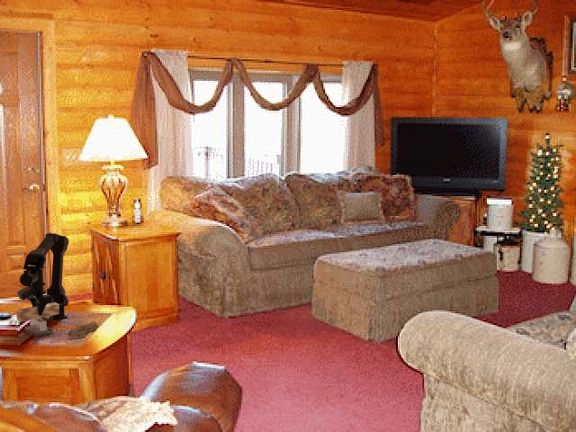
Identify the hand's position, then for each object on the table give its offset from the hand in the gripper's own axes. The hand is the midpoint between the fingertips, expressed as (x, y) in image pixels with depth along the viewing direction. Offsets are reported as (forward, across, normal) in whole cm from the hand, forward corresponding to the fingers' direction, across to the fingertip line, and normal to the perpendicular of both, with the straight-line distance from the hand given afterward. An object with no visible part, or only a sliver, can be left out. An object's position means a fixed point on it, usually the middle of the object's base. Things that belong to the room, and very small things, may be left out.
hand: (38, 314), depth 320 cm
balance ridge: (+8, 0, 0) cm, 8 cm away
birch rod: (+1, 0, 0) cm, 1 cm away
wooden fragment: (+9, +11, +16) cm, 21 cm away
